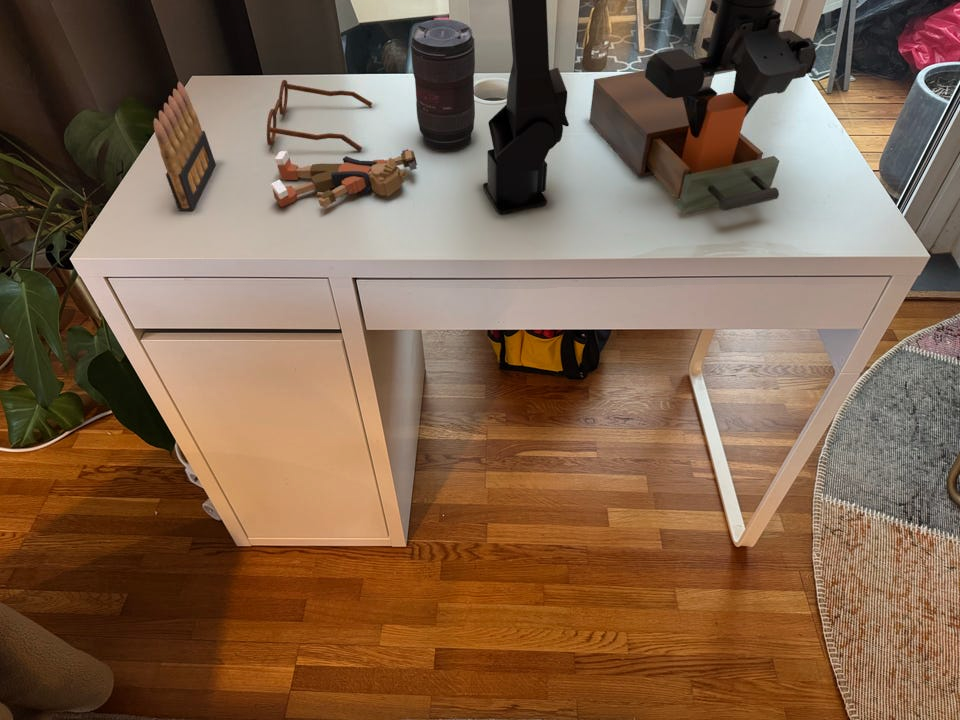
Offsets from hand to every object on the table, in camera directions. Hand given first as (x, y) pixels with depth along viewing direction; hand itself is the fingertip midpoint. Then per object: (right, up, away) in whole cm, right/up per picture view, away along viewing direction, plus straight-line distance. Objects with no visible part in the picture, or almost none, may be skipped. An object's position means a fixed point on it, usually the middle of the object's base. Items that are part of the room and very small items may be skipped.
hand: (713, 132), depth 86 cm
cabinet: (-4, +3, +13) cm, 14 cm away
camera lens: (-33, +3, +14) cm, 36 cm away
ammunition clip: (-65, -5, +6) cm, 66 cm away
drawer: (0, -5, +4) cm, 7 cm away
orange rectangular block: (0, -3, +3) cm, 5 cm away
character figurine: (-46, -6, +6) cm, 47 cm away
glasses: (-51, +5, +16) cm, 54 cm away
